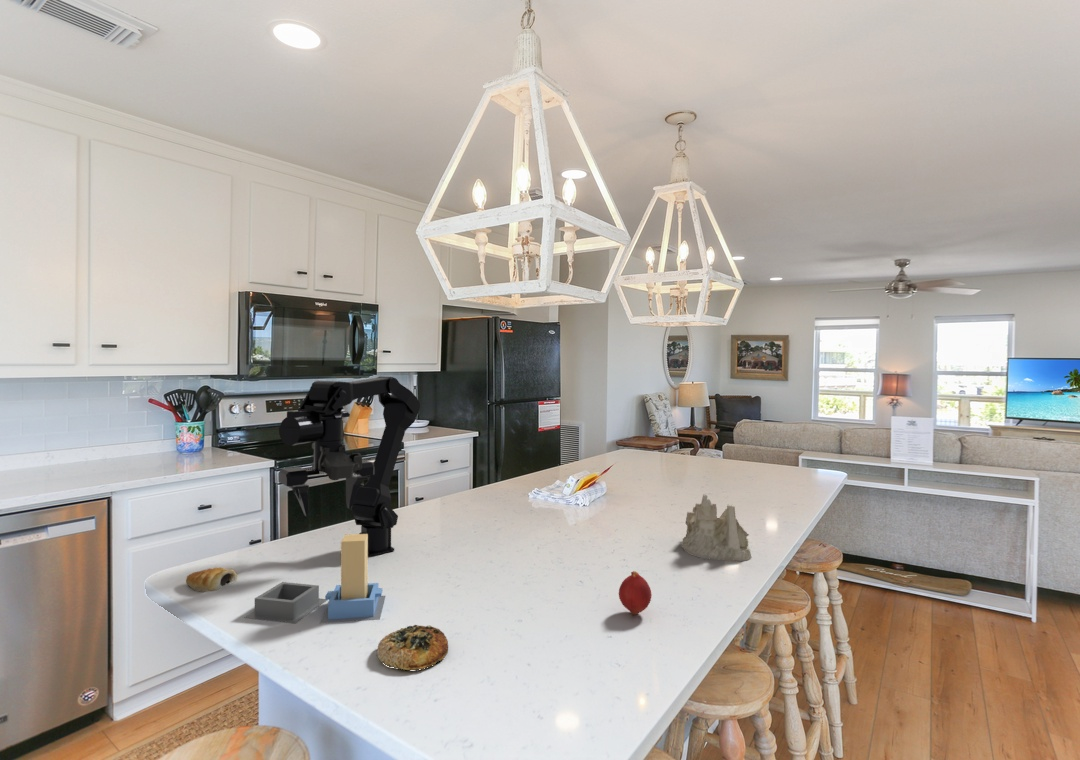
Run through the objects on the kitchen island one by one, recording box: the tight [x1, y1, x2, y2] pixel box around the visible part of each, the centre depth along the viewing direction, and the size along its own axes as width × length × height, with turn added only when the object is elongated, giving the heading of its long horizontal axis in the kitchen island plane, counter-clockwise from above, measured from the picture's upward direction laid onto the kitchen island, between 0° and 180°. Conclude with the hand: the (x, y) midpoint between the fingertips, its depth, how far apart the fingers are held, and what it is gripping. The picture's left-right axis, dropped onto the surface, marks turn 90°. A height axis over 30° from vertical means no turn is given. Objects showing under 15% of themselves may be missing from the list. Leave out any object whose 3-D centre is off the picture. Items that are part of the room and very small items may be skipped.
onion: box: [618, 570, 653, 616], centre depth 102 cm, size 6×6×8 cm
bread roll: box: [376, 624, 449, 671], centre depth 87 cm, size 11×11×5 cm
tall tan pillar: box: [340, 533, 369, 600], centre depth 102 cm, size 4×4×13 cm
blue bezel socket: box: [319, 582, 386, 624], centre depth 102 cm, size 10×10×4 cm
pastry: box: [185, 567, 238, 593], centre depth 113 cm, size 9×7×4 cm
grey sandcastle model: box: [681, 493, 753, 562], centre depth 139 cm, size 16×16×15 cm
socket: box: [243, 581, 328, 624], centre depth 102 cm, size 10×10×4 cm
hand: (328, 512), depth 120 cm, fingers open, 9 cm apart
